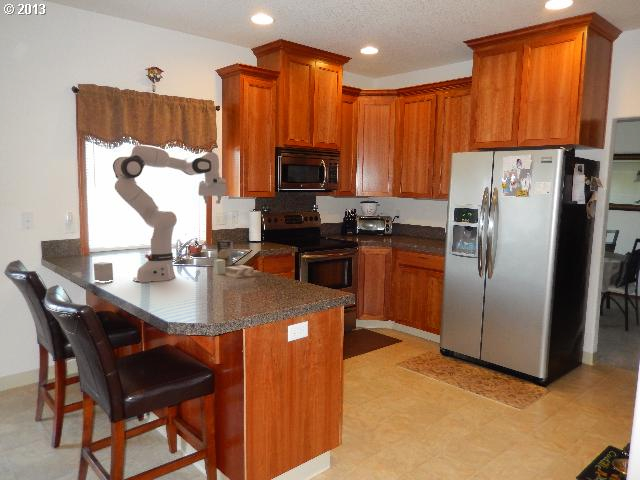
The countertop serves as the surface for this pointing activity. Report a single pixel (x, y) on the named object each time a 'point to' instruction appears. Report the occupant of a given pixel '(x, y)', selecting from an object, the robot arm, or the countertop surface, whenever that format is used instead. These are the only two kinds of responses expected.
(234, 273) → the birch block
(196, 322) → the countertop surface
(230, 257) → the coffee box
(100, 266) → the small box
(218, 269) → the green block
